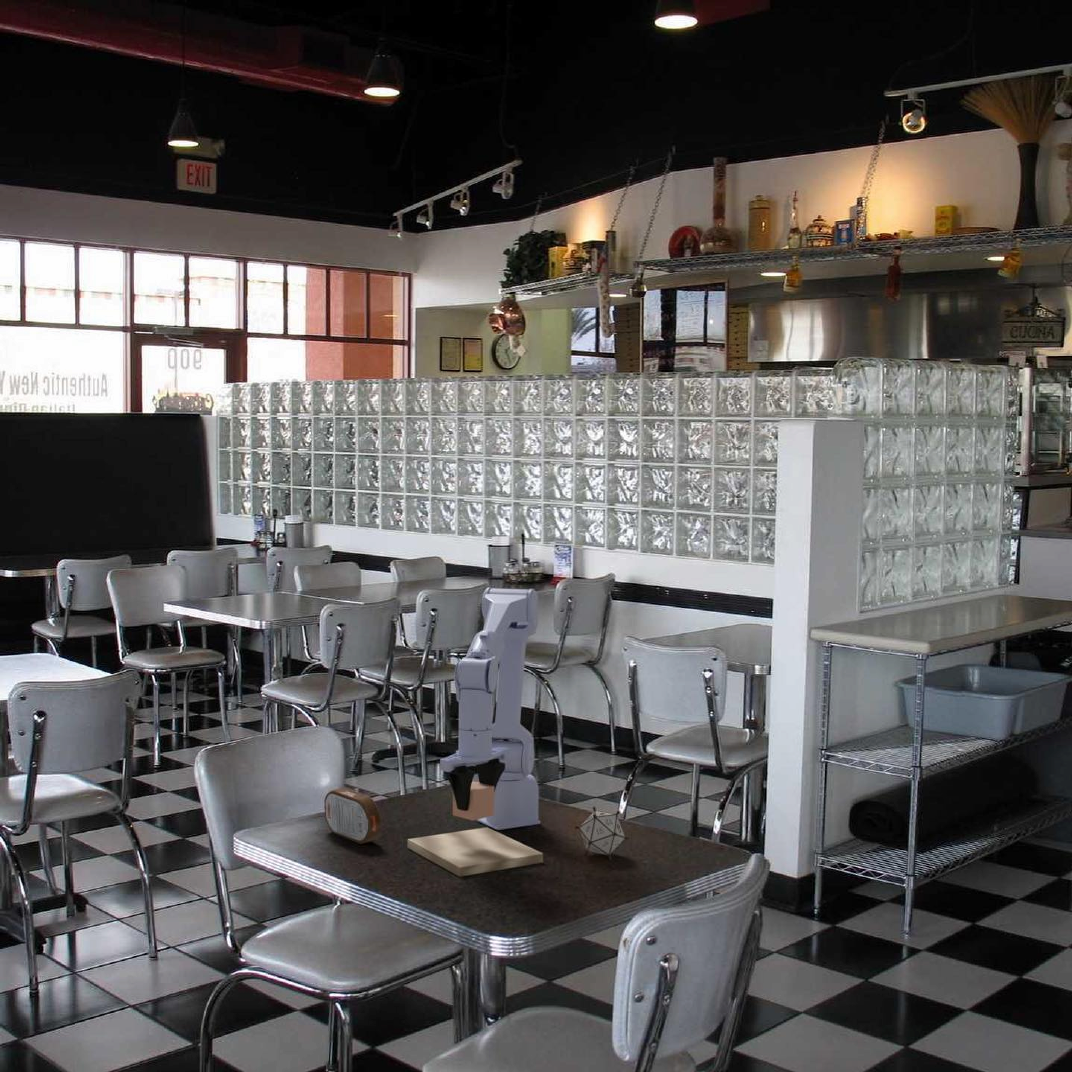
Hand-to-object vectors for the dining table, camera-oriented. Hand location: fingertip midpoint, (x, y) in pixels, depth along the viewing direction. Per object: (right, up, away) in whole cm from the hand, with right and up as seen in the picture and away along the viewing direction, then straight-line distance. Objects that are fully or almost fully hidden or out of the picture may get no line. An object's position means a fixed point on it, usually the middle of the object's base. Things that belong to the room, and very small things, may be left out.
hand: (474, 806), depth 224 cm
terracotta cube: (0, -2, 0) cm, 2 cm away
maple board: (0, -8, 0) cm, 8 cm away
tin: (-23, -8, +10) cm, 26 cm away
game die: (+22, -9, +1) cm, 24 cm away
